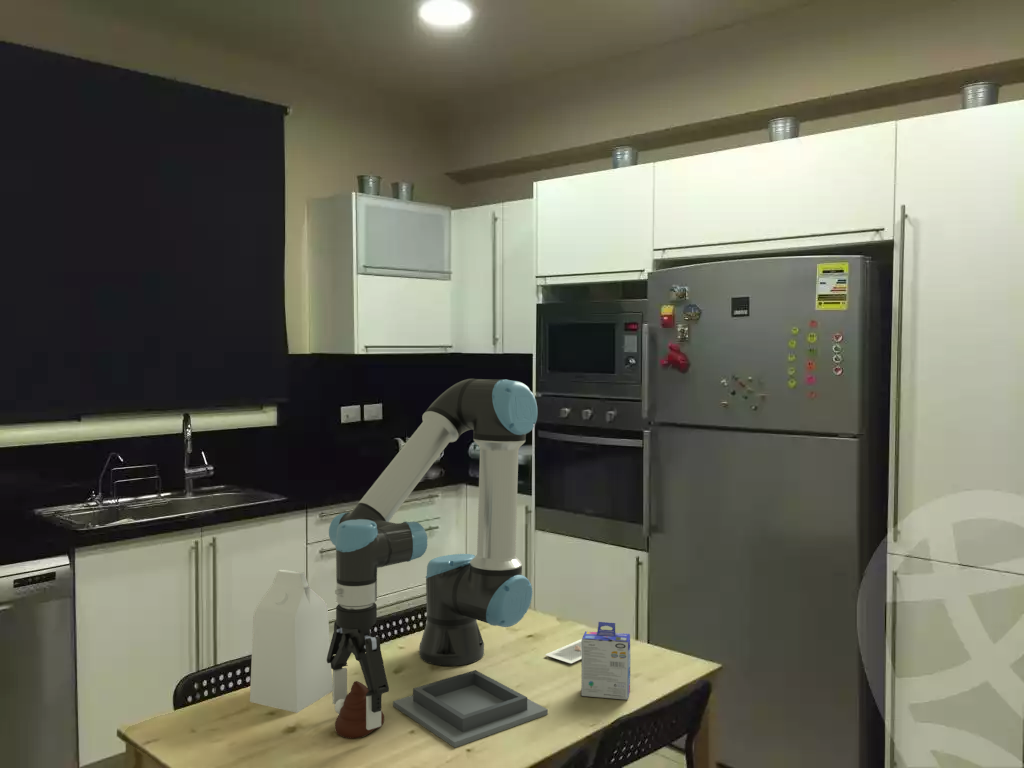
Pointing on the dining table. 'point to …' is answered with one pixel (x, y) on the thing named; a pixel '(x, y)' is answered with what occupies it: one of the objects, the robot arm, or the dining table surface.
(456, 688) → the pocket plate
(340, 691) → the robot arm
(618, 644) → the ink cartridge box
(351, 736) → the poop emoji
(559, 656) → the touchpad
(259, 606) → the milk
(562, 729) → the dining table surface
